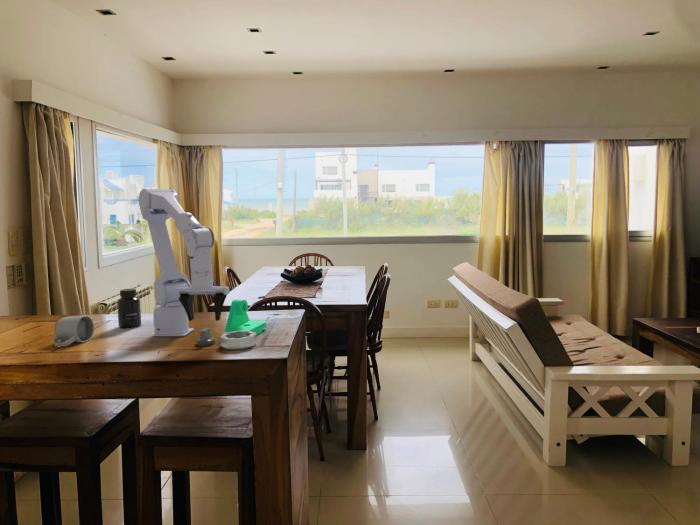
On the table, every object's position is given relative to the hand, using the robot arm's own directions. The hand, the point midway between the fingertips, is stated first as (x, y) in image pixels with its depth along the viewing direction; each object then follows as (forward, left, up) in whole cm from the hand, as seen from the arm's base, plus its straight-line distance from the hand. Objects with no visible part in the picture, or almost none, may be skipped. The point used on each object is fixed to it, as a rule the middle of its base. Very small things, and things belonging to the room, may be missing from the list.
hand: (204, 320), depth 153 cm
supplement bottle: (-32, +20, -7) cm, 38 cm away
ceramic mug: (-40, +1, -7) cm, 41 cm away
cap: (0, 0, -7) cm, 7 cm away
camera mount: (+9, +11, -7) cm, 16 cm away
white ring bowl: (+10, -2, -7) cm, 12 cm away
